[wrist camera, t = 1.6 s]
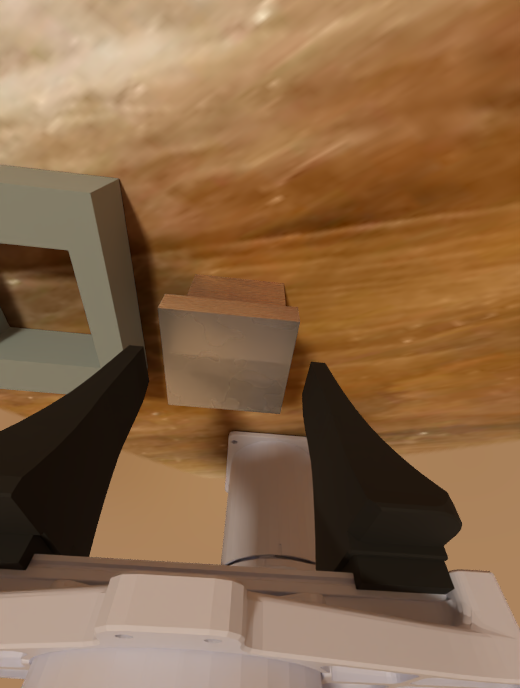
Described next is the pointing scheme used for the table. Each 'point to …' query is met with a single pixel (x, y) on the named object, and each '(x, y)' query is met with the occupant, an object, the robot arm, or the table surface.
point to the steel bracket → (228, 344)
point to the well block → (90, 271)
